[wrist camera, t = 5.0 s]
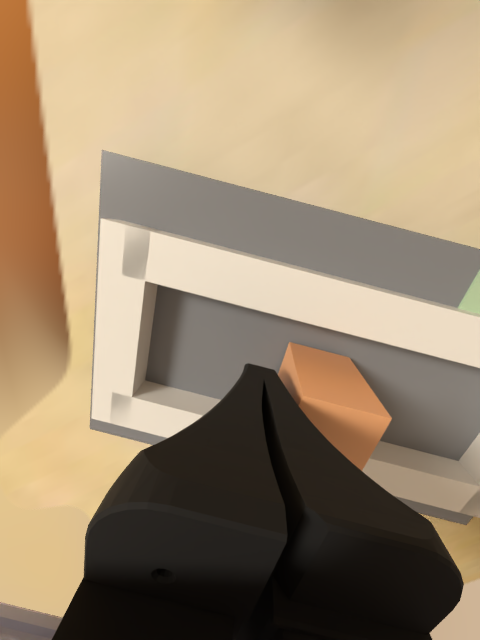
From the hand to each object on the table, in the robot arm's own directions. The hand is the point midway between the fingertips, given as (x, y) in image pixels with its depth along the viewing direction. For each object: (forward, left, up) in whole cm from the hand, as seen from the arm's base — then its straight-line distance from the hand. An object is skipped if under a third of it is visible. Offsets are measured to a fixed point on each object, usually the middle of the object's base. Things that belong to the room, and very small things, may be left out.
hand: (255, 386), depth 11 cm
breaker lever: (0, -3, -2) cm, 3 cm away
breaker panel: (0, -4, -5) cm, 6 cm away
